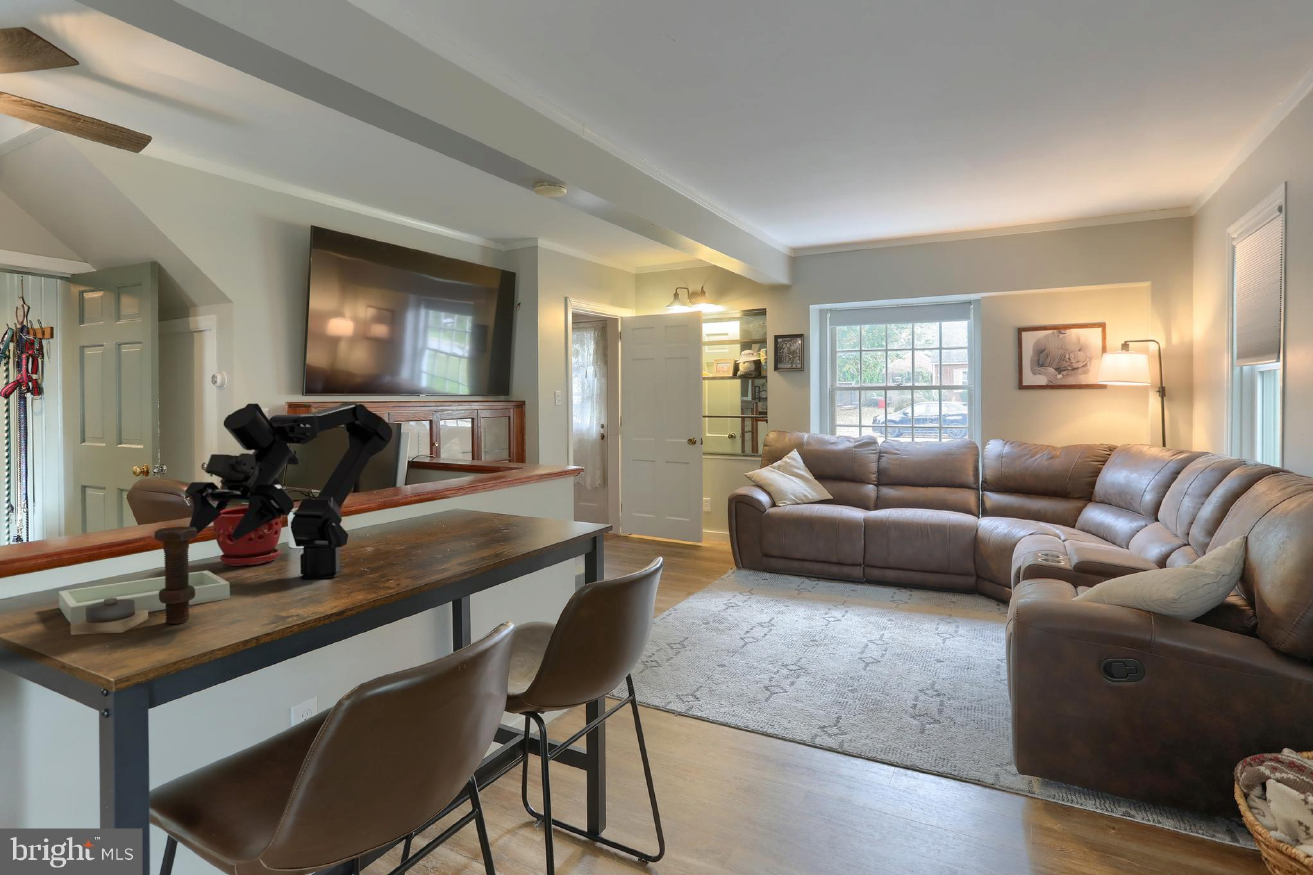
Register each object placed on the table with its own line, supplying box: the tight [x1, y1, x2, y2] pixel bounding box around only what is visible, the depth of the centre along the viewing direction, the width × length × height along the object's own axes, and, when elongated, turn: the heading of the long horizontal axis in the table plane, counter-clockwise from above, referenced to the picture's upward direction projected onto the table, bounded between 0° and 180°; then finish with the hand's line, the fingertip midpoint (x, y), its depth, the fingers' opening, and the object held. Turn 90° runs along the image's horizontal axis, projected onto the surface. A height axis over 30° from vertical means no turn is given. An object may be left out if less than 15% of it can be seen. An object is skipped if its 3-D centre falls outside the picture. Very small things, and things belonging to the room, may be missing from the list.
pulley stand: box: [70, 598, 149, 636], centre depth 108 cm, size 7×7×4 cm
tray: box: [58, 570, 231, 626], centre depth 122 cm, size 22×14×3 cm, turn 137°
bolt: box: [154, 526, 198, 625], centre depth 110 cm, size 6×5×15 cm
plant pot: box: [212, 505, 283, 567], centre depth 155 cm, size 13×13×12 cm
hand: (211, 537), depth 117 cm, fingers open, 9 cm apart
